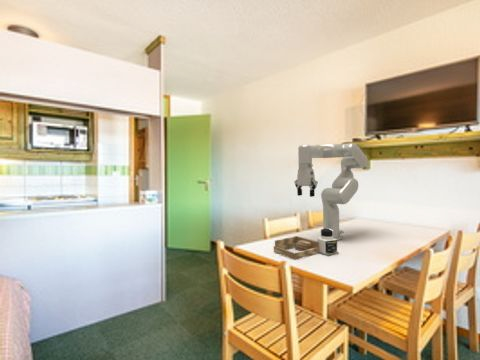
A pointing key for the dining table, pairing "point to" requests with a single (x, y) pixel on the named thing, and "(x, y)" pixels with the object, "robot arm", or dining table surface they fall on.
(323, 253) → the mat
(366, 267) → the dining table surface
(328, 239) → the medicine bottle
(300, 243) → the offcut stack
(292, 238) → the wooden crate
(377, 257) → the dining table surface
